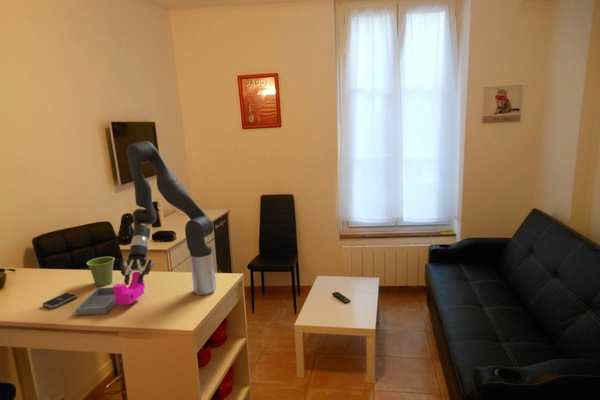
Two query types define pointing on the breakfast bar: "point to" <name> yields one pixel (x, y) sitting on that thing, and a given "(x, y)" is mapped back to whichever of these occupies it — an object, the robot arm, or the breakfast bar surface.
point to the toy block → (129, 290)
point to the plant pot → (102, 270)
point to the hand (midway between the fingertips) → (133, 283)
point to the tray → (97, 303)
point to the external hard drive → (59, 300)
